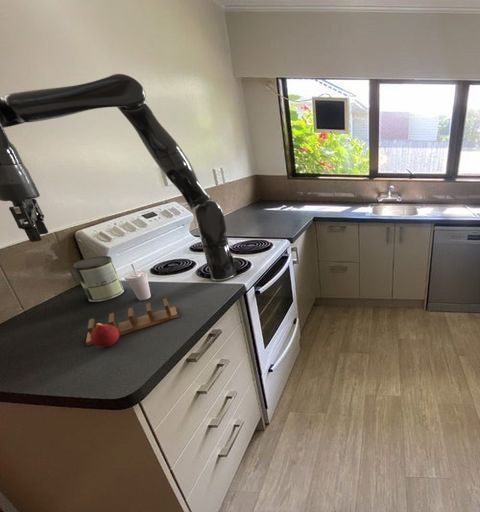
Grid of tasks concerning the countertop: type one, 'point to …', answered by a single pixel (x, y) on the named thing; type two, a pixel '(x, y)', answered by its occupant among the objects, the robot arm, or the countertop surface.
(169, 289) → the countertop surface
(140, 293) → the smoothie
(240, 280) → the countertop surface
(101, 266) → the coffee can
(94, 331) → the red round piece
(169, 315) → the dish rack
